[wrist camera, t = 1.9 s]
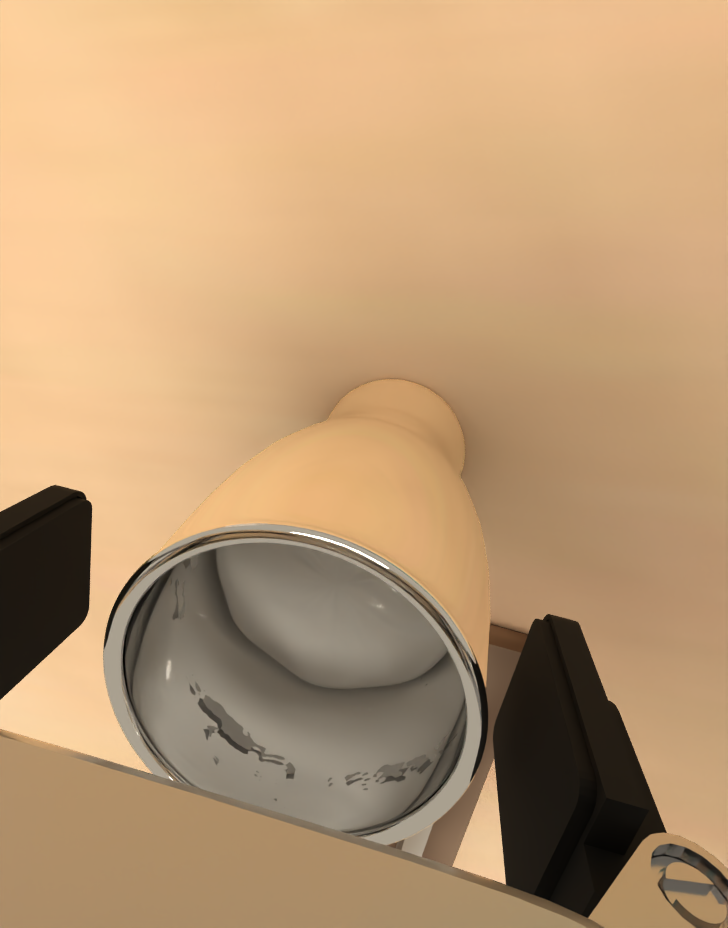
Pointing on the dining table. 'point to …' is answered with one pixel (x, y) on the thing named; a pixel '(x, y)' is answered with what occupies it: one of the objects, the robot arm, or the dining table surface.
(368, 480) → the beer glass
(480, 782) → the walnut board
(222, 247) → the dining table surface
